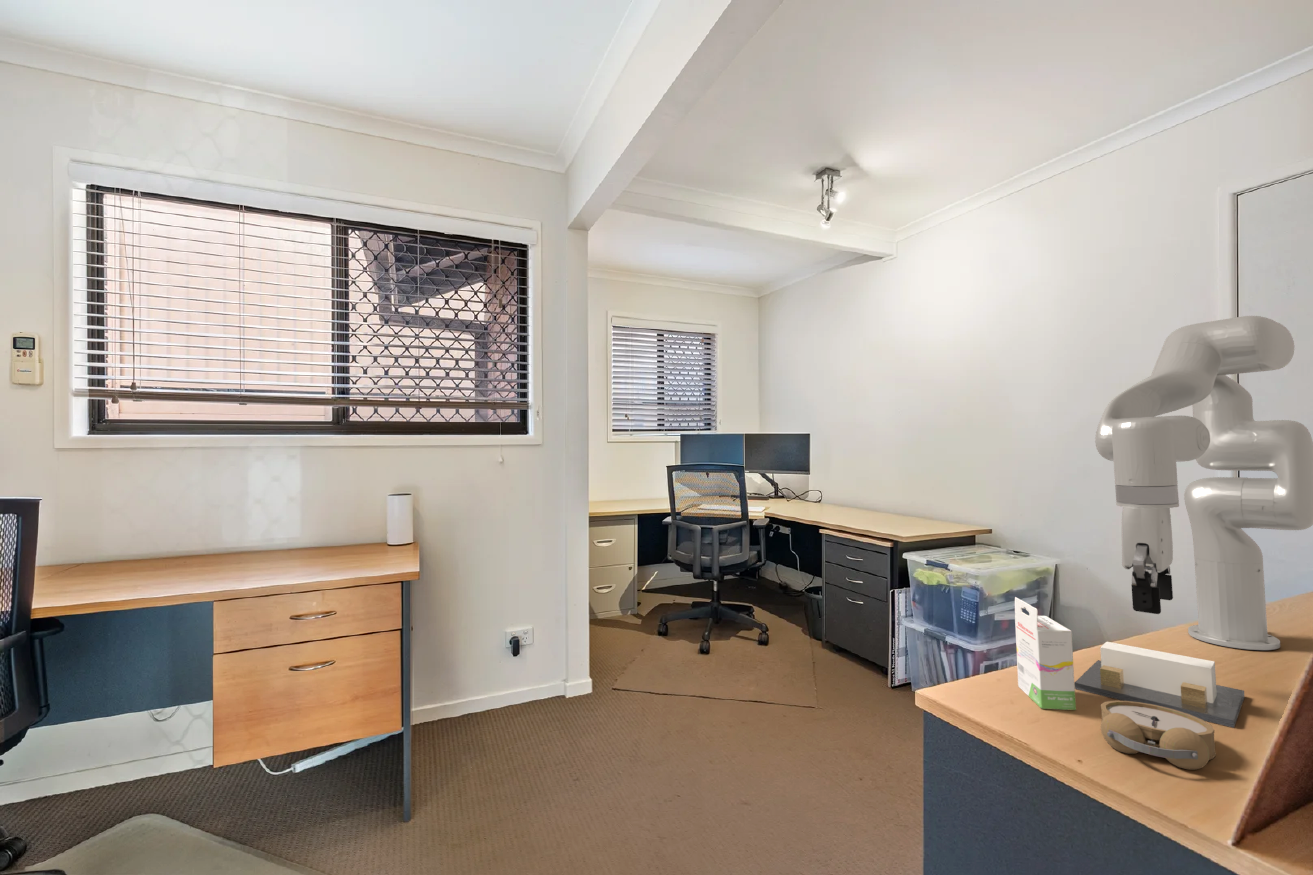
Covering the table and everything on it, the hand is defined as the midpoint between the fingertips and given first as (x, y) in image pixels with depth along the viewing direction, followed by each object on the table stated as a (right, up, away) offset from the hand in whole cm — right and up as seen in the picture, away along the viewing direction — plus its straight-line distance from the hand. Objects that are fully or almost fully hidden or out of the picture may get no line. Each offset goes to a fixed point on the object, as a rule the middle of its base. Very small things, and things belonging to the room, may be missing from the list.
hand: (1153, 605), depth 89 cm
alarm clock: (-14, -14, -16) cm, 25 cm away
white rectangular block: (0, -13, -1) cm, 13 cm away
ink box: (-18, -14, -1) cm, 23 cm away
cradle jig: (0, -14, -1) cm, 14 cm away
